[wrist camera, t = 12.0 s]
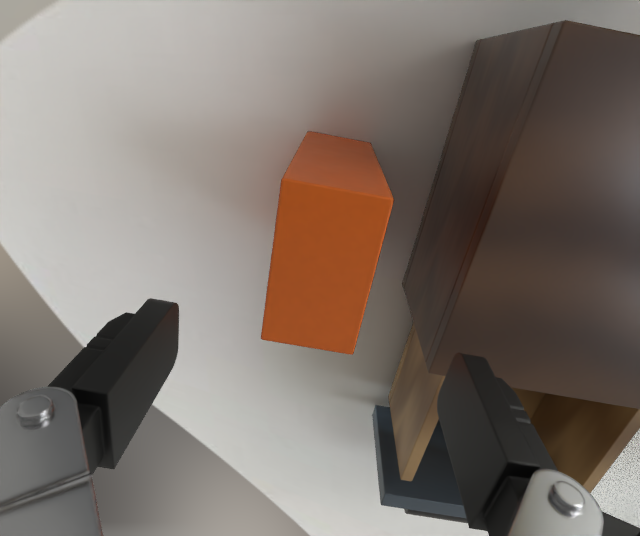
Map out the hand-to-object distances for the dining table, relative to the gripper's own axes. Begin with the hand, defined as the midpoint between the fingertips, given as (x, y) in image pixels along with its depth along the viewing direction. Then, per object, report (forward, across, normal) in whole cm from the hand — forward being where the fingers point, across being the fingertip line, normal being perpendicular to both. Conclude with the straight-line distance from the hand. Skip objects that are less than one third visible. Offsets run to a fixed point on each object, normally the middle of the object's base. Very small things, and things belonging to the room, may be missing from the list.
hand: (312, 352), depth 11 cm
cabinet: (+16, -14, -2) cm, 21 cm away
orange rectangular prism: (+16, 0, 0) cm, 16 cm away
